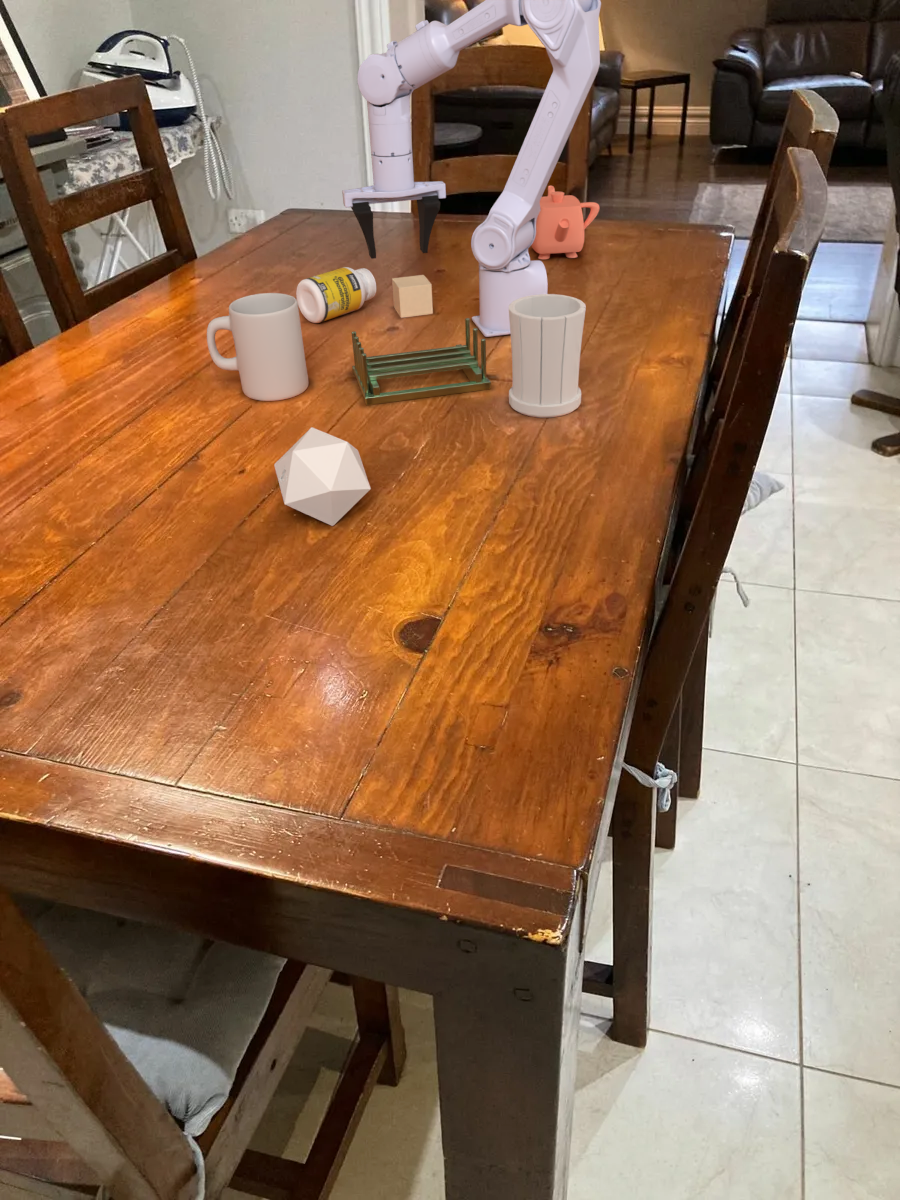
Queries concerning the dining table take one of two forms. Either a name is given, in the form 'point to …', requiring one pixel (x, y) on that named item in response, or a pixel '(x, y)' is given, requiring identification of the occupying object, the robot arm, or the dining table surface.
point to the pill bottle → (334, 293)
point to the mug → (264, 346)
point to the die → (322, 476)
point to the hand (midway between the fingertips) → (398, 254)
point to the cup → (546, 354)
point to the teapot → (561, 224)
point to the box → (412, 296)
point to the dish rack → (420, 369)
